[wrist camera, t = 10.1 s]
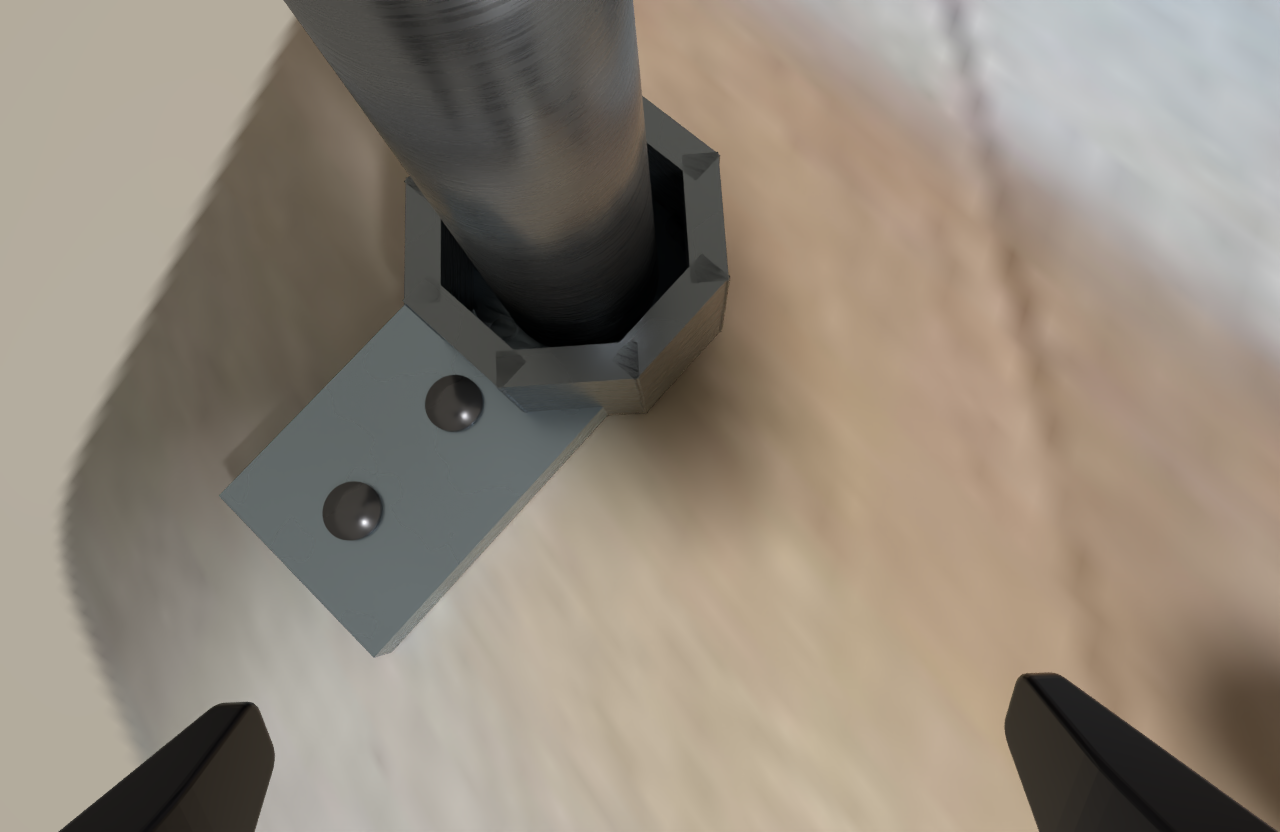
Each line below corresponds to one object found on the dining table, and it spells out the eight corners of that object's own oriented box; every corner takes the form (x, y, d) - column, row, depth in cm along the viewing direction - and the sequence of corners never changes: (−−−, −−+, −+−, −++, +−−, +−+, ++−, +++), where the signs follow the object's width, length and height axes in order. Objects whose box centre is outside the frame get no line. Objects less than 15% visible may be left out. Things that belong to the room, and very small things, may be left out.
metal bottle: (603, 381, 18) (328, -217, 4) (470, 301, 18) (-151, -444, 5) (689, 248, 18) (694, -667, 5) (556, 176, 19) (220, -820, 5)
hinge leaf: (411, 673, 17) (345, 701, 14) (225, 480, 19) (121, 462, 15) (774, 273, 19) (793, 209, 15) (578, 118, 20) (555, 27, 17)
